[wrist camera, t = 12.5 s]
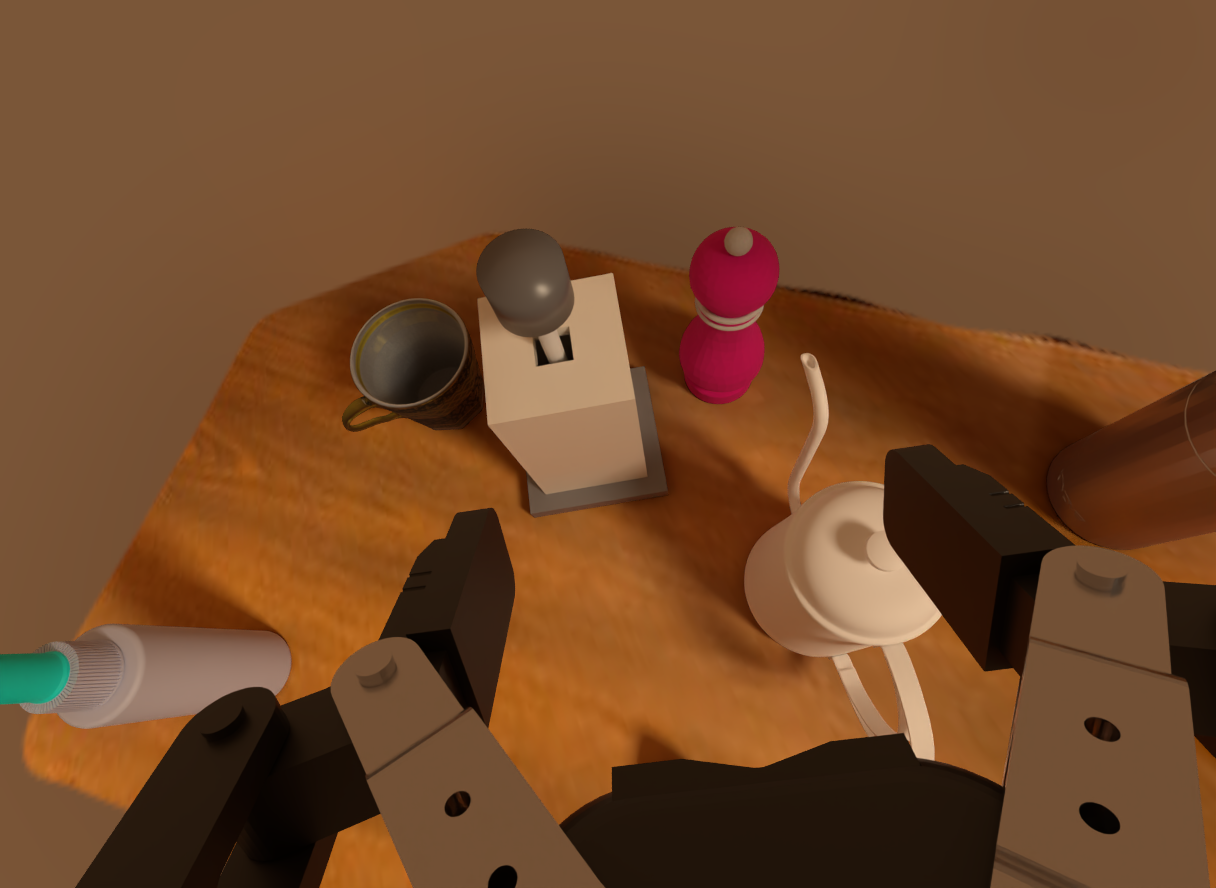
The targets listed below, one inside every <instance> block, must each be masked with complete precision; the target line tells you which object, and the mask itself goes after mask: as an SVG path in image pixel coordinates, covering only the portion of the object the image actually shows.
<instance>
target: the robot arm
mask: <svg viewBox="0 0 1216 888" xmlns="http://www.w3.org/2000/svg"><path fill="white" fill-rule="evenodd" d="M1047 491H1048V495H1049V498H1050V502H1051V504H1052V506H1053V508H1054V509H1055V511H1056V513H1057V515H1058V516H1059V517H1060V518H1061V520H1062V521H1063V522H1064V523H1065V524H1066V525H1067V526H1068V527H1069V528H1070V529H1071V530H1072V531H1073V532H1075V533H1076V534H1077V535H1079V536H1081V537H1082V538H1084V539H1085V540H1087V541H1089V542H1092V543H1094V544H1096V545H1099V546H1101V547H1106V548H1110V549H1116V550H1131V549H1137V548H1142V547H1147V546H1151V545H1156V544H1161V543H1165V542H1170V541H1176V540H1180V539H1185V538H1189V537H1194V536H1199V535H1203V534H1208V533H1212V532H1216V370H1215V371H1214V372H1212V373H1210V374H1208V375H1206V376H1204V377H1202V378H1200V379H1198V380H1196V381H1194V382H1192V383H1190V384H1189V385H1187V386H1185V387H1183V388H1181V389H1179V390H1177V391H1175V392H1173V393H1171V394H1169V395H1167V396H1165V397H1163V398H1161V399H1159V400H1157V401H1155V402H1153V403H1151V404H1150V405H1148V406H1146V407H1144V408H1142V409H1140V410H1138V411H1136V412H1134V413H1132V414H1130V415H1128V416H1126V417H1124V418H1122V419H1120V420H1118V421H1116V422H1114V423H1112V424H1111V425H1109V426H1107V427H1105V428H1103V429H1100V430H1098V431H1096V432H1095V433H1093V434H1091V435H1089V436H1087V437H1085V438H1083V439H1081V440H1079V441H1077V442H1075V443H1073V444H1071V445H1069V446H1068V447H1066V448H1065V449H1063V450H1062V451H1061V452H1060V453H1059V454H1058V455H1057V456H1056V457H1055V458H1054V459H1053V461H1052V463H1051V465H1050V468H1049V470H1048V476H1047ZM883 524H884V529H885V533H886V536H887V539H888V541H889V543H890V545H891V547H892V548H893V550H894V551H895V552H896V554H897V555H898V556H899V558H900V559H901V560H902V562H903V563H904V564H905V566H906V567H907V568H908V570H909V571H910V572H911V574H912V575H913V577H914V578H915V579H916V581H917V582H918V583H919V585H920V586H921V587H922V589H923V590H924V591H925V593H926V594H927V595H928V597H929V598H930V599H931V601H932V602H933V603H934V605H935V606H936V607H937V609H938V610H939V611H940V613H941V614H942V615H943V617H944V618H945V619H946V621H947V622H948V623H949V625H950V626H951V627H952V629H953V630H954V632H955V633H956V634H957V636H958V637H959V638H960V640H961V641H962V642H963V644H964V645H965V646H966V648H967V649H968V650H969V652H970V653H971V654H972V656H973V657H974V658H975V660H976V661H977V662H978V664H979V665H980V666H981V668H982V669H983V670H984V671H992V670H1001V669H1009V668H1014V669H1015V671H1016V672H1017V673H1018V674H1019V676H1020V681H1019V686H1018V691H1017V697H1016V703H1015V709H1014V715H1013V721H1012V727H1011V733H1010V739H1009V745H1008V751H1007V757H1006V763H1005V769H1004V775H1003V780H1002V786H1000V785H999V784H997V783H995V782H993V781H991V780H989V779H987V778H984V777H982V776H980V775H977V774H975V773H973V772H970V771H968V770H965V769H962V768H959V767H956V766H953V765H950V764H946V763H942V762H938V761H933V760H929V759H923V758H917V757H916V755H915V754H914V752H913V750H912V748H911V746H910V744H909V742H908V740H907V738H906V736H905V735H904V733H898V734H890V735H881V736H873V737H864V738H856V739H847V740H839V741H830V742H828V743H825V744H823V745H820V746H817V747H815V748H812V749H810V750H807V751H804V752H802V753H799V754H797V755H794V756H792V757H789V758H786V759H784V760H781V761H779V762H776V763H774V764H771V765H768V766H765V767H760V768H751V767H743V766H735V765H726V764H718V763H710V762H702V761H694V760H686V759H677V760H669V761H660V762H652V763H643V764H635V765H626V766H618V767H612V792H610V793H608V794H605V795H603V796H600V797H599V798H597V799H595V800H593V801H591V802H589V803H587V804H585V805H584V806H583V807H581V808H580V809H578V810H577V811H575V812H574V813H573V814H571V815H570V816H569V817H568V818H566V819H565V820H564V821H563V822H562V823H561V824H560V825H558V824H557V822H556V821H555V820H554V818H553V817H552V816H551V814H550V813H549V811H548V810H547V809H546V807H545V806H544V805H543V803H542V802H541V800H540V799H539V798H538V796H537V795H536V794H535V792H534V791H533V790H532V788H531V787H530V785H529V784H528V783H527V781H526V780H525V779H524V777H523V776H522V774H521V773H520V772H519V770H518V769H517V768H516V766H515V765H514V764H513V762H512V761H511V759H510V758H509V757H508V755H507V754H506V753H505V751H504V750H503V749H502V747H501V746H500V744H499V743H498V742H497V740H496V739H495V738H494V736H493V735H492V733H491V732H490V731H489V729H488V727H489V722H490V717H491V712H492V707H493V702H494V697H495V692H496V687H497V682H498V677H499V672H500V667H501V662H502V657H503V652H504V647H505V642H506V637H507V632H508V627H509V622H510V617H511V612H512V608H513V603H514V597H515V580H514V572H513V568H512V564H511V561H510V557H509V554H508V550H507V547H506V543H505V540H504V537H503V533H502V530H501V526H500V523H499V519H498V516H497V514H496V512H495V510H494V509H493V508H487V509H480V510H473V511H467V512H460V513H457V514H456V515H455V517H454V519H453V521H452V524H451V526H450V529H449V531H448V533H447V536H446V538H444V539H438V540H434V541H433V542H432V543H431V544H430V545H429V546H428V547H427V548H426V549H425V550H424V551H423V552H422V553H421V554H420V555H419V556H418V557H417V559H416V561H415V563H414V565H413V567H412V569H411V572H410V574H409V575H410V577H409V578H407V580H406V582H405V585H404V587H403V592H401V593H400V595H399V597H398V600H397V602H396V604H395V606H394V608H393V610H392V612H391V615H390V617H389V619H388V621H387V623H386V625H385V627H384V630H383V632H382V634H381V636H380V638H379V640H378V641H376V642H373V643H371V644H369V645H367V646H365V647H363V648H361V649H360V650H358V651H356V652H355V653H354V654H353V655H351V656H350V657H349V658H348V659H347V660H346V661H345V662H344V663H343V664H342V665H341V666H340V667H339V669H338V670H337V672H336V673H335V675H334V677H333V679H332V683H331V687H328V688H326V689H324V690H321V691H318V692H316V693H313V694H311V695H308V696H305V697H303V698H300V699H297V700H295V701H292V702H289V703H287V704H284V705H281V706H280V704H279V702H278V700H277V699H276V697H275V695H274V694H273V692H272V691H271V690H269V689H267V688H263V687H249V688H244V689H240V690H237V691H234V692H232V693H229V694H227V695H225V696H223V697H221V698H219V699H217V700H216V701H214V702H213V703H211V704H209V705H208V706H207V707H205V708H204V709H203V710H201V711H200V712H199V713H198V714H197V715H195V716H194V717H193V718H192V719H191V720H190V721H189V722H188V723H187V724H186V726H185V727H184V728H183V729H182V731H181V732H180V733H179V735H178V736H177V738H176V739H175V741H174V742H173V744H172V745H171V747H170V748H169V750H168V751H167V753H166V754H165V756H164V757H163V759H162V760H161V762H160V763H159V764H158V766H157V767H156V769H155V770H154V772H153V773H152V775H151V776H150V778H149V779H148V781H147V782H146V784H145V785H144V787H143V788H142V790H141V791H140V793H139V794H138V796H137V797H136V798H135V800H134V801H133V803H132V804H131V806H130V807H129V809H128V810H127V812H126V813H125V815H124V816H123V818H122V820H121V821H120V822H119V824H118V825H117V827H116V828H115V830H114V831H113V832H112V834H111V835H110V837H109V838H108V840H107V842H106V843H105V844H104V846H103V847H102V849H101V851H100V852H99V853H98V855H97V856H96V858H95V859H94V861H93V862H92V864H91V865H90V866H89V868H88V869H87V871H86V872H85V874H84V875H83V877H82V878H81V880H80V881H79V883H78V884H77V886H76V887H75V888H319V887H320V884H321V881H322V878H323V875H324V872H325V869H326V866H327V863H328V860H329V857H330V854H331V851H332V848H333V845H334V842H335V839H336V837H337V834H338V832H339V831H342V830H344V829H346V828H349V827H351V826H353V825H356V824H358V823H360V822H362V821H365V820H367V819H369V818H372V817H374V816H376V815H378V814H381V815H382V817H383V820H384V822H385V824H386V827H387V829H388V831H389V833H390V836H391V838H392V840H393V843H394V845H395V847H396V850H397V852H398V854H399V856H400V859H401V861H402V863H403V866H404V868H405V870H406V873H407V875H408V877H409V880H410V882H411V884H412V886H413V888H1210V883H1209V874H1208V864H1207V855H1206V845H1205V836H1204V826H1203V817H1202V807H1201V798H1200V788H1199V779H1198V769H1197V760H1196V750H1195V741H1194V736H1195V737H1196V738H1197V739H1198V740H1199V741H1200V742H1201V743H1202V745H1203V746H1204V747H1205V748H1206V749H1207V750H1208V751H1209V752H1210V753H1211V754H1212V755H1213V756H1214V757H1215V758H1216V585H1204V584H1190V583H1176V582H1164V581H1162V580H1161V578H1160V577H1159V576H1158V575H1157V574H1156V573H1155V572H1154V571H1153V570H1152V569H1151V568H1149V567H1148V566H1146V565H1145V564H1143V563H1142V562H1140V561H1138V560H1136V559H1134V558H1132V557H1129V556H1127V555H1124V554H1122V553H1119V552H1115V551H1112V550H1108V549H1104V548H1098V547H1092V546H1076V545H1074V544H1073V543H1072V542H1071V541H1070V540H1068V539H1067V538H1066V537H1065V536H1063V535H1062V534H1061V533H1060V532H1059V531H1057V530H1056V529H1055V528H1054V527H1052V526H1051V525H1050V524H1049V523H1047V522H1046V521H1045V520H1044V519H1043V518H1041V517H1040V516H1039V515H1038V514H1036V513H1035V512H1034V511H1033V510H1032V509H1030V508H1029V507H1028V506H1026V507H1025V506H1024V503H1023V502H1022V501H1021V500H1019V499H1018V498H1017V497H1016V496H1014V495H1013V494H1009V492H1008V490H1007V489H1006V488H1005V487H1003V486H1002V485H1001V484H1000V483H998V482H997V481H996V480H995V479H994V478H992V477H991V476H990V475H987V474H985V473H983V472H980V471H978V470H976V469H973V468H971V467H968V466H966V465H964V464H962V465H955V464H954V463H953V462H952V461H950V460H949V459H948V458H947V457H946V456H945V455H943V454H942V453H941V452H940V451H939V450H938V449H937V448H935V447H934V446H933V445H930V444H927V445H920V446H914V447H907V448H900V449H893V450H890V451H889V452H888V453H887V455H886V459H885V477H884V501H883ZM236 842H237V843H236ZM235 843H236V845H235ZM234 846H235V847H234ZM233 848H234V849H233ZM232 850H233V851H232ZM231 852H232V853H231ZM230 854H231V855H230ZM229 856H230V857H229ZM228 858H229V859H228ZM227 860H228V861H227ZM226 862H227V863H226ZM225 864H226V865H225ZM224 866H225V867H224ZM223 868H224V870H223ZM222 871H223V872H222ZM221 873H222V874H221ZM220 875H221V876H220Z"/></svg>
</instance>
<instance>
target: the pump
mask: <svg viewBox="0 0 1216 888" xmlns="http://www.w3.org/2000/svg"><path fill="white" fill-rule="evenodd" d="M477 279H478V282H479V285H480V287H481V288H482V290H483V292H484V294H485V296H486V298H487V300H488V302H489V303H490V305H491V307H492V309H493V311H494V313H495V315H496V316H497V318H498V320H499V322H500V323H501V325H502V326H503V327H504V328H505V329H506V330H508V331H509V332H511V333H513V334H515V335H518V336H522V337H538V338H539V340H540V343H541V345H542V347H543V350H544V352H545V354H546V356H547V359H548V361H549V363H550V364H554V363H559V362H565V361H568V359H567V356H566V354H565V351H564V348H563V345H562V343H561V340H560V337H559V335H558V332H557V329H558V328H559V327H560V326H561V325H563V324H564V322H565V321H566V320H567V319H568V317H569V316H570V314H571V312H572V309H573V306H574V291H573V287H572V284H571V280H570V277H569V273H568V270H567V266H566V263H565V259H564V255H563V252H562V250H561V247H560V246H559V244H558V243H557V242H556V240H554V239H553V238H552V237H551V236H549V235H548V234H546V233H544V232H541V231H539V230H534V229H517V230H513V231H509V232H506V233H504V234H502V235H500V236H498V237H497V238H495V239H494V240H493V241H491V242H490V243H489V244H488V245H487V246H486V248H485V249H484V250H483V252H482V253H481V255H480V257H479V260H478V263H477Z"/></svg>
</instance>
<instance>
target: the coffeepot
mask: <svg viewBox="0 0 1216 888" xmlns="http://www.w3.org/2000/svg"><path fill="white" fill-rule="evenodd" d="M801 361H802V364H803V367H804V371H805V374H806V377H807V381H808V384H809V388H810V392H811V396H812V402H813V410H814V419H813V425H812V428H811V430H810V433H809V435H808V437H807V439H806V442H805V444H804V446H803V448H802V450H801V453H800V455H799V457H798V459H797V461H796V464H795V466H794V468H793V470H792V473H791V475H790V478H789V481H788V499H789V505H790V509H791V514H792V515H790V516H789V517H787V518H786V519H784V520H783V521H781V522H780V523H778V524H777V525H775V526H774V527H772V528H771V529H769V530H768V531H767V532H766V533H764V534H763V535H762V536H761V537H760V539H759V540H758V541H757V542H756V544H755V545H754V547H753V548H752V550H751V552H750V554H749V557H748V559H747V563H746V567H745V573H744V588H745V595H746V599H747V602H748V605H749V608H750V610H751V612H752V614H753V616H754V618H755V620H756V621H757V623H758V624H759V625H760V627H761V628H762V629H763V630H764V631H765V632H766V633H767V634H768V635H769V636H770V637H771V638H772V639H773V640H775V641H776V642H777V643H779V644H780V645H782V646H783V647H785V648H787V649H789V650H791V651H793V652H796V653H799V654H802V655H806V656H812V657H828V659H829V660H830V659H832V660H833V662H834V664H835V666H836V669H837V671H838V674H839V676H840V679H841V681H842V684H843V686H844V688H845V691H846V693H847V695H848V698H849V700H850V702H851V704H852V706H853V709H854V711H855V713H856V715H857V717H858V719H859V721H860V723H861V725H862V727H863V729H864V730H865V732H866V734H867V736H868V737H873V736H881V735H890V734H898V733H904V735H905V736H906V738H907V740H908V741H910V746H911V748H912V750H913V752H914V754H915V755H916V757H917V758H923V759H929V760H933V761H934V741H933V734H932V729H931V724H930V720H929V716H928V712H927V708H926V705H925V701H924V698H923V694H922V691H921V688H920V685H919V682H918V679H917V676H916V673H915V671H914V668H913V665H912V663H911V660H910V658H909V655H908V653H907V651H906V648H905V646H904V644H903V643H902V642H906V641H908V640H911V639H913V638H915V637H917V636H919V635H921V634H922V633H924V632H925V631H927V630H928V629H929V628H930V627H931V626H932V625H934V624H935V622H936V621H937V620H938V619H939V618H940V617H941V615H942V614H941V613H940V611H939V610H938V609H937V607H936V606H935V605H934V603H933V602H932V601H931V599H930V598H929V597H928V595H927V594H926V593H925V591H924V590H923V589H922V587H921V586H920V585H919V583H918V582H917V581H916V579H915V578H914V577H913V575H912V574H911V572H910V571H909V570H908V568H907V567H906V566H905V564H904V563H903V562H902V560H901V559H900V558H899V556H898V555H897V554H896V552H895V551H894V550H893V548H892V547H891V545H890V543H889V541H888V539H887V536H886V533H885V529H884V524H883V501H884V485H883V484H879V483H874V482H866V481H851V482H844V483H839V484H835V485H832V486H829V487H827V488H825V489H823V490H821V491H819V492H817V493H816V494H814V495H813V496H811V497H810V498H809V499H808V500H807V501H806V502H805V503H804V504H803V505H802V506H801V503H800V497H799V485H800V481H801V479H802V477H803V475H804V473H805V471H806V469H807V467H808V465H809V463H810V461H811V459H812V457H813V455H814V453H815V452H816V450H817V448H818V446H819V444H820V442H821V440H822V438H823V436H824V433H825V431H826V428H827V424H828V417H829V411H828V401H827V395H826V390H825V386H824V382H823V379H822V375H821V372H820V369H819V366H818V362H817V360H816V358H815V357H814V356H813V355H812V354H810V353H804V354H802V355H801ZM870 646H873V647H881V649H882V650H883V653H884V655H885V660H886V662H887V665H888V668H889V670H890V673H891V677H892V680H893V684H894V689H895V694H896V699H897V706H898V732H897V733H896V732H895V731H893V730H892V729H891V728H890V727H889V726H888V724H887V723H886V722H885V721H884V719H883V718H882V717H881V715H880V714H879V712H878V711H877V709H876V708H875V706H874V705H873V703H872V701H871V700H870V698H869V697H868V695H867V693H866V691H865V689H864V688H863V686H862V684H861V682H860V679H859V677H858V675H857V672H856V670H855V669H854V667H853V664H852V662H851V660H850V658H849V656H848V655H847V654H845V653H849V652H852V651H856V650H859V649H863V648H866V647H870Z"/></svg>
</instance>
